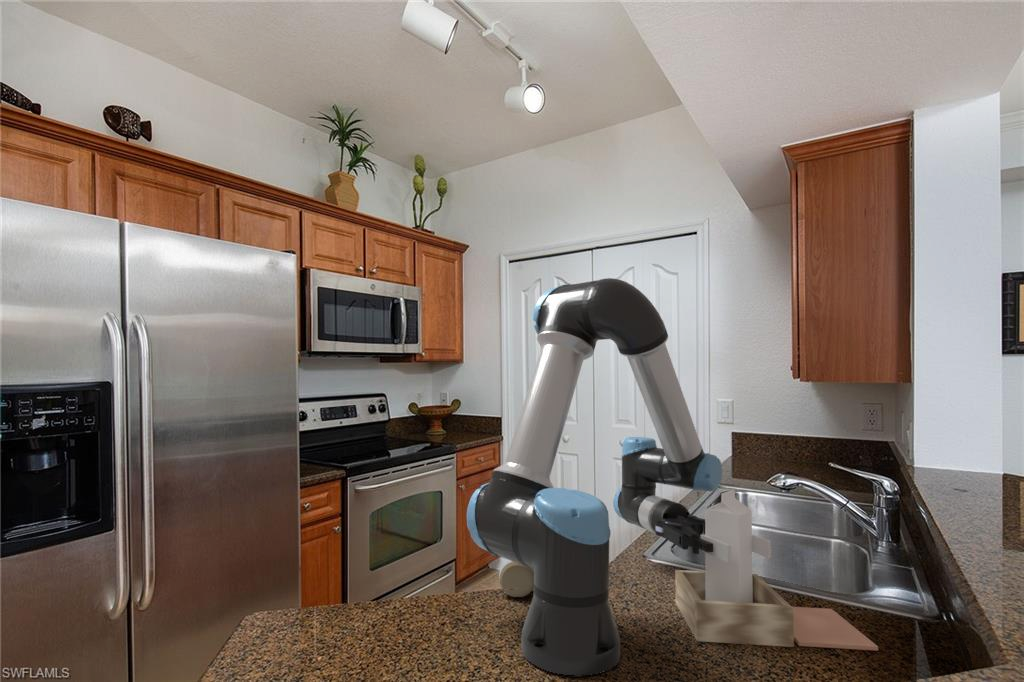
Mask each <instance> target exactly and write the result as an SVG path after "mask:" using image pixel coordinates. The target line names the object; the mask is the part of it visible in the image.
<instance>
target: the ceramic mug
mask: <svg viewBox="0 0 1024 682" xmlns="http://www.w3.org/2000/svg"><path fill="white" fill-rule="evenodd" d="M498 579H499V585H500V586H501V589H502V590H503V592H504V593H505V594H506V595H508V596H509V597H511V598H516V597H521V598H525V597H526V596H528V595H529V594H530V593H531V592H534V569H532V568H530V567H527V566H524V565H522V564H519V563H516V562H514V561H511V560H508V559H506V558H503V557H501V562H500V567H499V574H498ZM514 588H520V589H514ZM506 589H513V590H506Z"/></svg>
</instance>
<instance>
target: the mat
mask: <svg viewBox="0 0 1024 682" xmlns="http://www.w3.org/2000/svg"><path fill="white" fill-rule="evenodd" d="M792 607H793V626H794V643H796V644H797V646H799V647H811V648H826V649H827V648H829V649H831V648H832V649H844V650H846V649H847V650H862V651H879V646H878V645H877V644H876V643H874V642H873V641H872V640H870V639H869V637H867V636H865V635H864V634H863V633H862V632H861V631H859V629H857V628H856V627H854V626H853V625H852V624H851V623H850V622H848V620H846V619H845V618H843V617H842V616H841V615H840V614H839V613H837V612H836V611H835V610H834V609H832V608H823V607H807V606H805V607H804V606H792Z"/></svg>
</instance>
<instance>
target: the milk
mask: <svg viewBox="0 0 1024 682" xmlns="http://www.w3.org/2000/svg"><path fill="white" fill-rule="evenodd" d="M735 494H736V491H735V489H730V490H728V491H725V492H721V495H720V498H721V500H720V502H718V503H716V504H715V505H712V506H710V507H707V508H705V509H704V519H705V535H707V536H709V537H712V538H714V539H717V540H719V541H722V542H724V543H727V544H729V545H731V562H726V561H723V560H721V559H719V558H717V557H714V556H712V555H710V554H707V553H705V552H704V554H705V556H704V557H705V558H704V560H705V561H704V562H705V566H704V567H705V570H704V571H705V580H706V601H723V602H742V603H753V585H752V574H753V552H752V535H753V530H752V529H753V527H752V526H753V525H752V524H753V523H752V522H753V521H752V519H753V518H752V515H753V514H752V509H751V508H749V507H748V506H746V505H745V504H744V503H742V502H741V501H740V500H739V499H737V498H736V495H735Z"/></svg>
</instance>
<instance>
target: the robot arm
mask: <svg viewBox="0 0 1024 682" xmlns="http://www.w3.org/2000/svg"><path fill="white" fill-rule="evenodd" d="M532 315H533V316H532V320H533V322H534V325H533V327H534V330H535V332H536V334H537V337H536V341H537V342H538V344H539V346H540V347H541V350H540V352H539V356H538V358H537V361H536V365H535V367H534V370H533V374H532V376H531V380H530V383H529V386H528V389H527V393H526V396H525V398H524V401H523V405H522V408H521V411H520V415H519V417H518V421H517V423H516V425H515V426H516V427H515V429H514V433H513V436H512V439H511V443H510V445H509V448H508V452H507V455H506V456H505V461H504V463H503V464H502V465H499V466H497V467H496V468H494V469H493V470H492V475H491V477H490V480H489V482H487V483H484V484H482V485H480V487H479V488H477V489H475V491H474V492H473V493H472V495H471V497H470V500H469V501H468V502H469V503H468V505H467V509H466V525H467V529H468V531H469V533H470V537H471V539H472V540H473V542H474V543H475V544H476V545H477V546H478V547H479V548H481V549H482V550H485V551H487V552H488V553H489V554H490V555H493V556H496V557H500V558H506V559H508V560H511V561H514V562H516V563H519V564H522V565H524V566H527V567H530V568H532V569H534V591H533V596H532V598H531V602H530V605H529V609H528V610H527V614H526V617H525V620H524V623H523V625H522V626H523V627H522V629H521V639H520V640H521V643H520V649H521V653H522V655H523V656H524V658H525V659H526V660H527V662H529V663H530V662H531V663H530V664H531V665H533V664H534V665H533V666H535V665H536V666H537V667H536V666H535V667H536V668H538V667H539V668H538V669H540V668H541V670H543V669H544V670H543V671H545V670H546V671H545V672H548V671H549V672H548V673H551V672H553V673H552V674H555V673H558V674H557V675H559V674H565V675H574V676H573V677H583V676H582V675H591V674H596V673H600V672H603V671H606V672H608V671H610V670H611V669H610V668H612V667H613V668H614V667H615V666H617V665H618V663H619V661H620V658H621V638H620V634H619V631H618V628H617V627H618V626H617V624H616V620H615V617H614V615H613V611H612V607H611V604H610V598H609V597H610V592H609V591H610V587H609V586H610V538H611V529H610V521H609V519H610V518H609V511H608V508H607V506H606V504H605V503H604V502H603V501H602V499H600V498H598V497H597V496H595V495H593V494H590V493H587V492H586V491H585V492H584V491H582V490H577V489H569V488H565V487H554V486H553V484H552V482H551V479H550V477H551V473H552V470H553V468H554V463H555V460H556V456H557V453H558V448H559V445H560V442H561V439H562V435H563V433H564V428H565V425H566V422H567V418H568V414H569V411H570V407H571V405H572V401H573V398H574V394H575V390H576V388H577V387H576V386H577V383H578V380H579V377H580V373H581V369H582V366H583V363H584V361H586V360H588V359H590V358H591V357H593V355H594V352H595V349H596V345H597V342H598V341H601V340H610V341H612V342H614V343H615V345H616V347H617V349H618V352H619V354H620V355H622V356H624V357H626V358H627V360H628V363H629V365H630V368H631V370H632V374H633V375H634V378H635V381H636V383H637V385H638V388H639V391H640V394H641V396H642V399H643V401H644V405H645V406H646V408H647V411H648V414H649V416H650V419H651V422H652V424H653V427H654V429H655V431H656V435H657V437H658V439H659V442H660V445H661V447H662V448H660V447H658V446H657V442H656V440H655V439H654V438H652V437H644V436H643V437H642V436H628V437H626V438H624V439H623V442H622V451H621V453H622V454H621V487H620V488H619V489H618V490H617V491H616V492H615V494H614V497H613V499H612V507H613V510H614V511H615V513H616V514H617V516H618V517H620V519H623V520H624V521H626V522H627V523H629V524H631V525H635V526H637V527H640V528H642V529H644V530H646V531H648V532H651V533H653V534H654V536H655V537H656V536H657V537H660V538H661V537H662V538H664V539H665V540H667V541H669V542H670V543H672V544H673V545H675V546H677V547H679V549H682V550H684V551H685V550H689V547H690V549H691V554H695V555H699V554H700V552H703V553H704V554H705V553H707V554H710V555H712V556H714V557H717V558H719V559H721V560H723V561H726V562H731V545H729V544H727V543H724V542H722V541H719V540H717V539H714V538H712V537H709V536H707V535H705V518H700V517H698V516H697V515H693V514H691V513H690V511H689V510H688V509H687V507H686V506H684V505H683V504H681V503H678V502H675V501H674V500H673V501H672V500H670V499H667V498H664V497H661V496H657V495H656V490H657V489H656V488H657V484H662V485H668V486H674V487H677V488H678V487H679V488H683V489H684V488H685V489H689V490H693V491H700V492H701V491H702V492H713V491H716V490H717V489H718V488H719V487H720V486H719V485H720V484H721V482H722V479H723V464H722V462H721V459H720V458H718V456H717V455H715V454H710V453H709V452H706V453H705V452H704V449H703V447H702V444H701V441H700V439H699V435H698V433H697V429H696V426H695V424H694V421H693V418H692V414H691V413H690V410H689V408H688V403H687V402H686V399H685V396H684V393H683V391H682V388H681V387H682V386H681V385H680V382H679V379H678V376H677V373H676V370H675V368H674V365H673V361H672V358H671V357H670V353H669V351H668V348H667V345H666V342H667V341H668V339H669V334H668V330H667V327H666V326H665V322H664V320H663V319H662V317H661V315H660V313H659V312H658V310H657V309H656V307H655V306H654V304H653V302H651V300H649V298H648V297H647V296H646V295H645V294H644V293H643V292H642V291H641V290H640V289H638V288H637V287H635V286H634V285H633V284H631V283H629V282H627V281H625V280H622V279H618V278H613V277H612V278H611V277H610V278H609V277H608V278H602V279H598V280H592V281H586V282H580V283H575V284H561V285H558V286H556V287H552V288H550V289H548V290H546V291H544V293H543V294H541V295H540V296H539V298H538V300H537V301H536V304H535V306H534V310H533V314H532ZM771 545H772V542H771V540H769V539H765V538H763V537H760V536H758V535H755V534H752V553H754V554H758V555H759V556H763V557H764V558H767V559H769V558H772V546H771ZM613 668H612V669H613ZM609 669H610V670H609ZM607 670H608V671H607ZM603 673H604V672H603ZM600 674H601V673H600ZM565 675H564V676H565ZM578 675H580V676H578ZM591 676H592V675H591Z"/></svg>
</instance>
